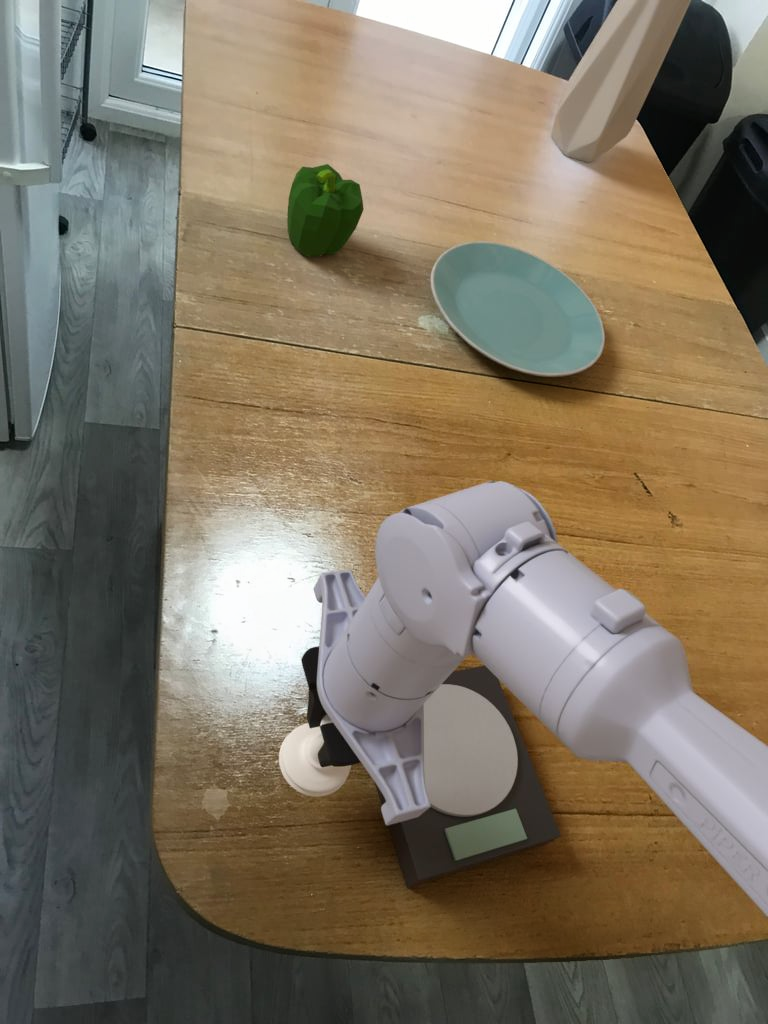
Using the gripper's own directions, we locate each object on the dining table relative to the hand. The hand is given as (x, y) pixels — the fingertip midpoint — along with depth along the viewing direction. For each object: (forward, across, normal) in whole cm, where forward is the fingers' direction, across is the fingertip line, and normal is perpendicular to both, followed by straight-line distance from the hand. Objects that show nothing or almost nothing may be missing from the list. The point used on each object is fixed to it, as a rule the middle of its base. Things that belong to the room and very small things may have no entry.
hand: (328, 740), depth 54 cm
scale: (+9, -2, -12) cm, 15 cm away
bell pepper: (+9, +59, -18) cm, 62 cm away
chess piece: (+4, 0, 0) cm, 4 cm away
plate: (+9, +47, -40) cm, 62 cm away
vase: (+9, +86, -69) cm, 111 cm away
